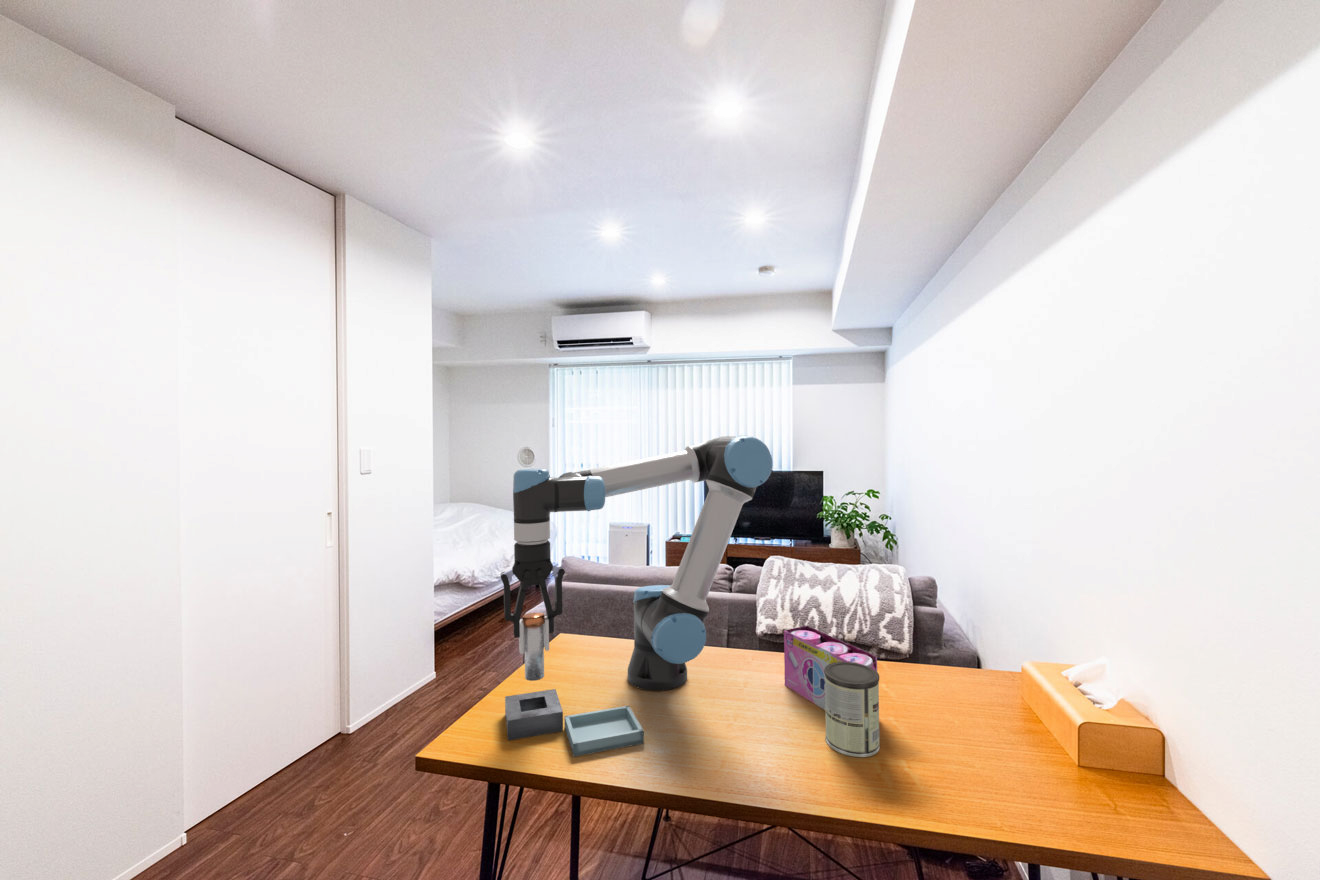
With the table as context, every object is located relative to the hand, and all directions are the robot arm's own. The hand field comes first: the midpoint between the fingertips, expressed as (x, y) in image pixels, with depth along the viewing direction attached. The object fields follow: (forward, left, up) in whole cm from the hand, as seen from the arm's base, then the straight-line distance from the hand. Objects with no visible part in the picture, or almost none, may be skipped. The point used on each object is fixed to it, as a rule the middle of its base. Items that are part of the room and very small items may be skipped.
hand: (534, 649), depth 117 cm
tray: (-13, +10, -15) cm, 22 cm away
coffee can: (-59, +29, -16) cm, 67 cm away
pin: (0, 0, -6) cm, 6 cm away
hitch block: (0, 0, -15) cm, 16 cm away
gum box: (-65, +13, -16) cm, 68 cm away
